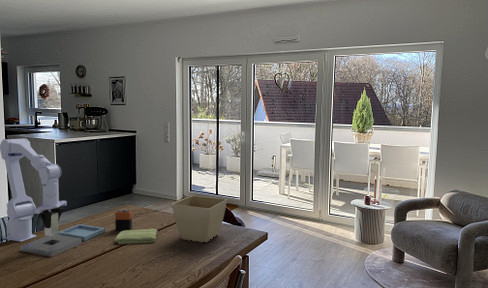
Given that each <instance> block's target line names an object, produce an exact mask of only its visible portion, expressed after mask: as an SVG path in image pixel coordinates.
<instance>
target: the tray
mask: <svg viewBox="0 0 488 288" xmlns="http://www.w3.org/2000/svg"><path fill="white" fill-rule="evenodd" d="M104 233H106V227H100V226H94V225H93V226H92V225H87V224H81V223H79V224H76V225H74V226H71V227H69V228H66V229H63V230H60V231H59V234H57V235H62V236H68V237H74V238H80V239H82V242H87V241H88V240H92V239H94V238H95V237H98V236H101V235H102V234H104Z"/></svg>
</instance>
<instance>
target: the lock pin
mask: <svg viewBox="0 0 488 288" xmlns="http://www.w3.org/2000/svg"><path fill="white" fill-rule="evenodd" d="M59 232H60V231H59V223H58V213H57V212H52V216H51V222H50V228H45V227H44V236H45V237H46V236H54V235H58V234H59Z"/></svg>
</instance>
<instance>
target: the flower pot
mask: <svg viewBox="0 0 488 288" xmlns="http://www.w3.org/2000/svg"><path fill="white" fill-rule="evenodd" d="M227 200H228V199H227V198H217V197H212V196H211V197H210V196H203V195H202V196H201V195H190V196H187V197H185V198H183V199H180V200H178V201H175V202H172V204H171V207H172V212H173V216H174V222H175V224H176V226H177V231H178V233H179V236H180V238H181V239H182V240H186V241H191V240H192V241H191V242H197V241H198V242H197V243H203V242H206V243H208V242H209V241H211V240H212V239H214V238H215V237H217V236H218V235H219V232H220V230H221V228H222V223H223V221H224V217H225V212H226V207H227V202H228V201H227ZM217 234H218V235H217ZM216 235H217V236H216ZM213 237H214V238H213ZM210 239H211V240H210Z"/></svg>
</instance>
